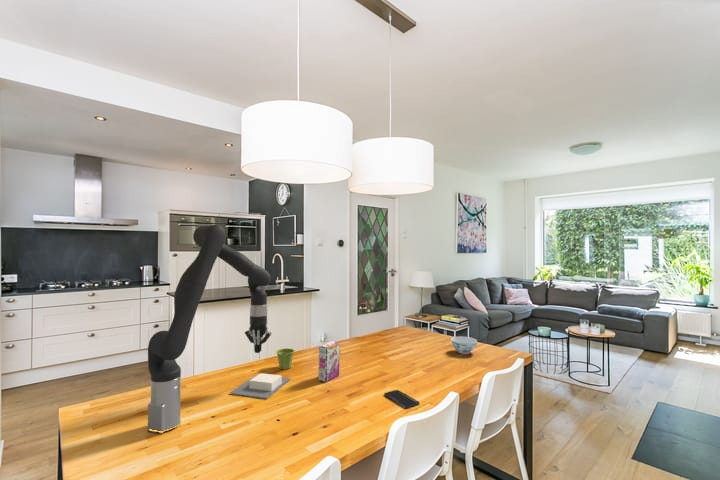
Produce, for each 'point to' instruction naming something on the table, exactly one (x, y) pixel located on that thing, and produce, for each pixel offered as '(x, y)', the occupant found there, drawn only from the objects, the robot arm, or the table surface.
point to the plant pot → (285, 358)
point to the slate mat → (256, 390)
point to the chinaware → (464, 344)
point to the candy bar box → (329, 361)
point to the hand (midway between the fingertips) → (257, 352)
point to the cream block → (265, 382)
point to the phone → (401, 399)
